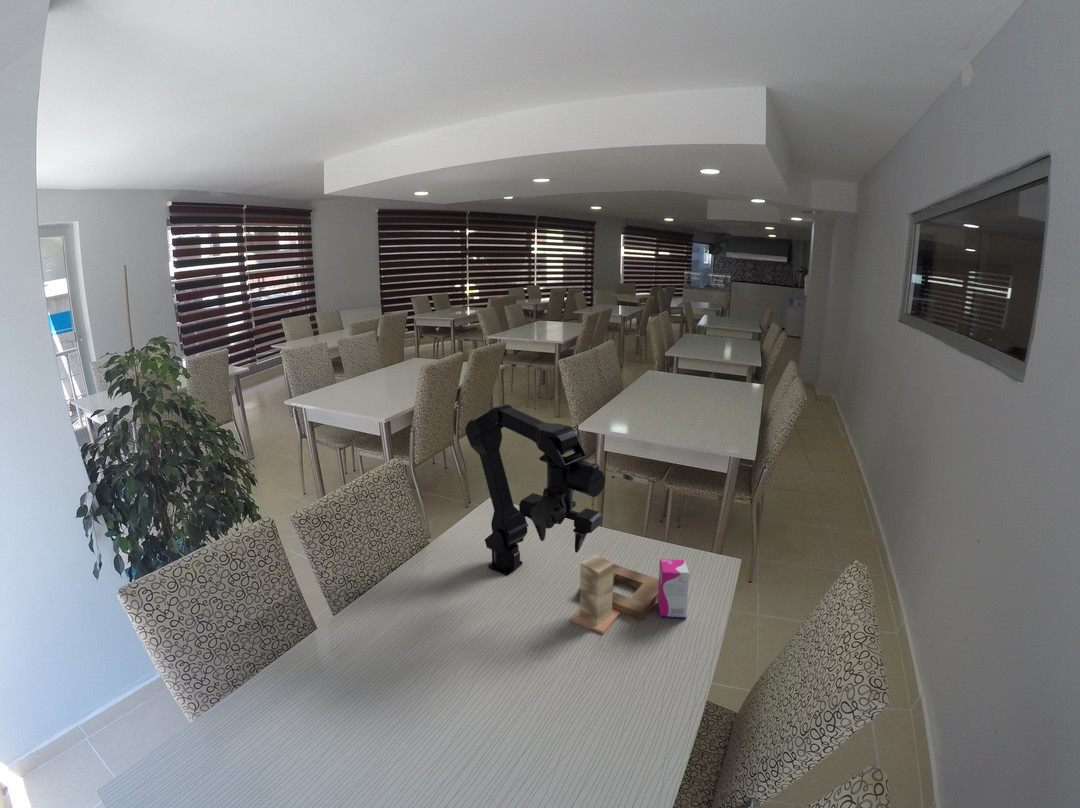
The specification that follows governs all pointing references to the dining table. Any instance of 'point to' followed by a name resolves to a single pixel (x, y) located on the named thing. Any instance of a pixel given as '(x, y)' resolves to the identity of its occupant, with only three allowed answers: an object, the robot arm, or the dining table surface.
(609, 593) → the maple block
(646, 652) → the dining table surface
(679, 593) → the supplement box
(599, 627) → the terracotta tile
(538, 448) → the robot arm
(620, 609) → the pocket board
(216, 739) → the dining table surface
